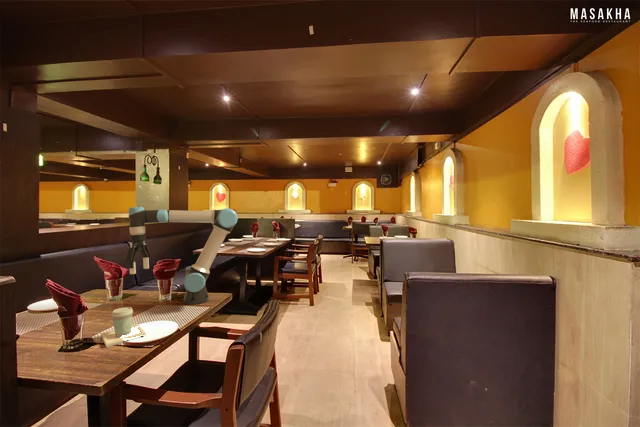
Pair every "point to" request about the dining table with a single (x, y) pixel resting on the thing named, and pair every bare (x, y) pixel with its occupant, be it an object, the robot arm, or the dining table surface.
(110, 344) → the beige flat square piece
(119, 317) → the coffee cup
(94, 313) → the dining table surface
